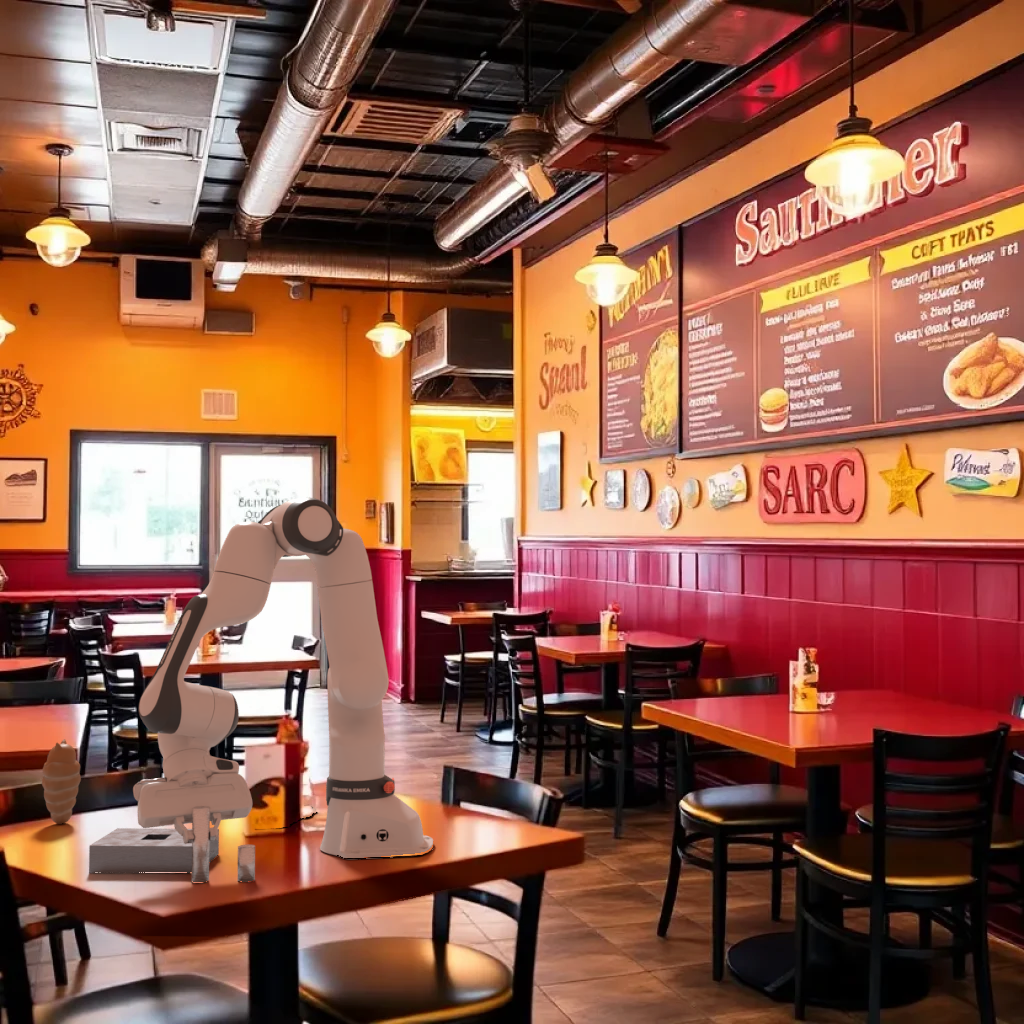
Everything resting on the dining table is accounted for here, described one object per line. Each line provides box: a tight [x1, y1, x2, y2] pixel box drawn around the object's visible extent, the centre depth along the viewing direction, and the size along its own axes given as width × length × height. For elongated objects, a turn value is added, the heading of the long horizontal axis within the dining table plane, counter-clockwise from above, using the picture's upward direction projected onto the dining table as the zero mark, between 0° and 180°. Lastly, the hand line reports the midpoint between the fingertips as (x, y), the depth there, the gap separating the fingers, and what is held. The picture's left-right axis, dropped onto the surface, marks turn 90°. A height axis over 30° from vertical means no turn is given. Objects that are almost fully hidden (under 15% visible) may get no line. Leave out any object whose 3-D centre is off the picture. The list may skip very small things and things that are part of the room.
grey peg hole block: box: [88, 827, 220, 874], centre depth 219 cm, size 20×14×5 cm
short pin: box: [237, 844, 256, 883], centre depth 208 cm, size 3×3×6 cm
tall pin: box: [191, 806, 211, 883], centre depth 207 cm, size 3×3×13 cm
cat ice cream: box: [41, 739, 82, 825], centre depth 253 cm, size 9×8×18 cm
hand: (201, 840), depth 207 cm, fingers closed on tall pin, 3 cm apart
